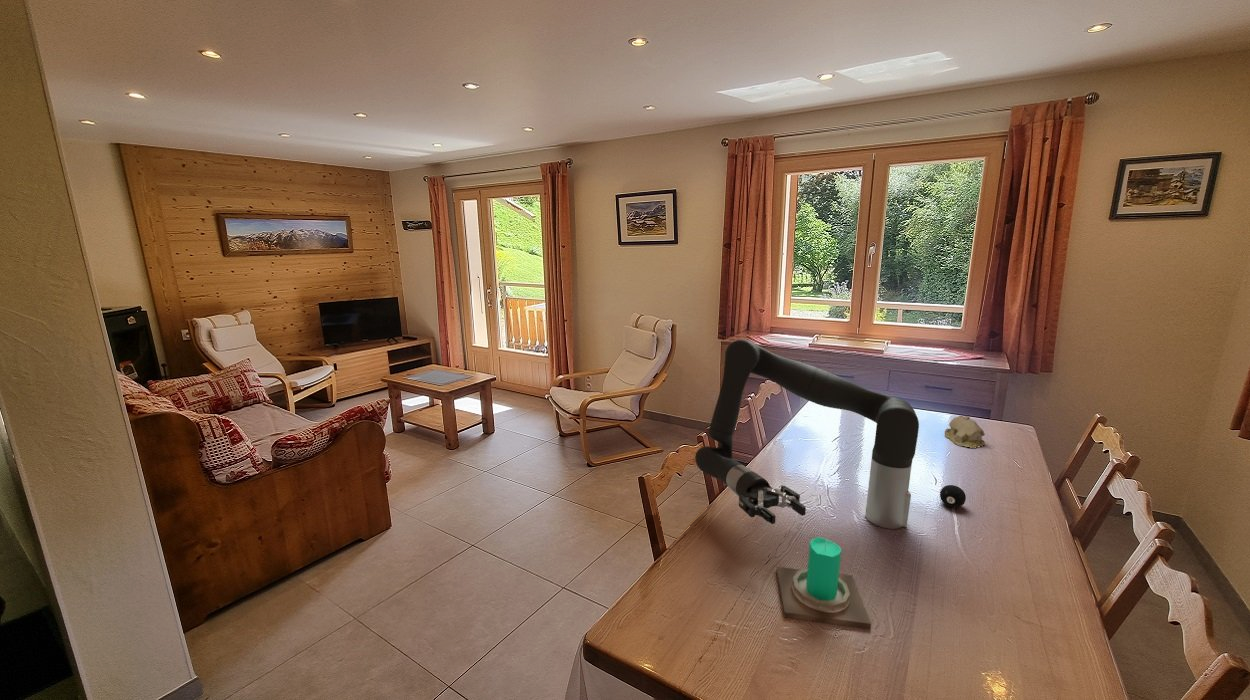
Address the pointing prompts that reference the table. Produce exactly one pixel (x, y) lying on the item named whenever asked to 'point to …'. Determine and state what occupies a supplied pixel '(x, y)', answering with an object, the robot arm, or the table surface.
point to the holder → (809, 608)
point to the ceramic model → (965, 432)
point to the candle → (823, 569)
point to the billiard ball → (952, 496)
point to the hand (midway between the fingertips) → (789, 516)
